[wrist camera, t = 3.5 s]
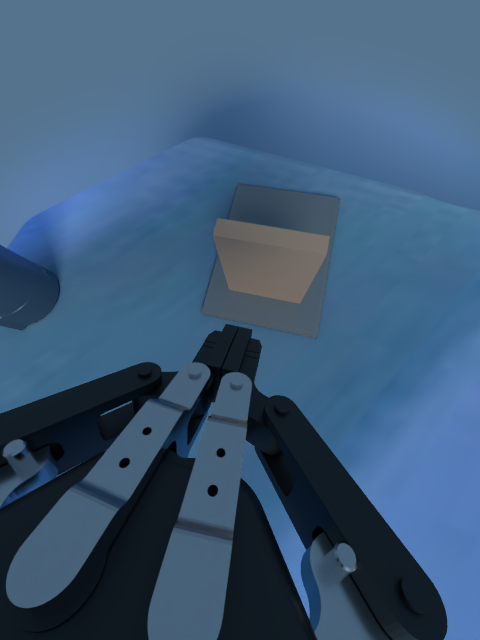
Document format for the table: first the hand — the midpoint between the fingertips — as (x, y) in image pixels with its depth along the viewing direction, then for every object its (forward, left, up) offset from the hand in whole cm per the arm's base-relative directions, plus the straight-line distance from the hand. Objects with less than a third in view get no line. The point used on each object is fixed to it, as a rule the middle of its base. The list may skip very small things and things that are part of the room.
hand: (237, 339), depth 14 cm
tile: (+10, +3, -18) cm, 21 cm away
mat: (+15, +6, -19) cm, 25 cm away
